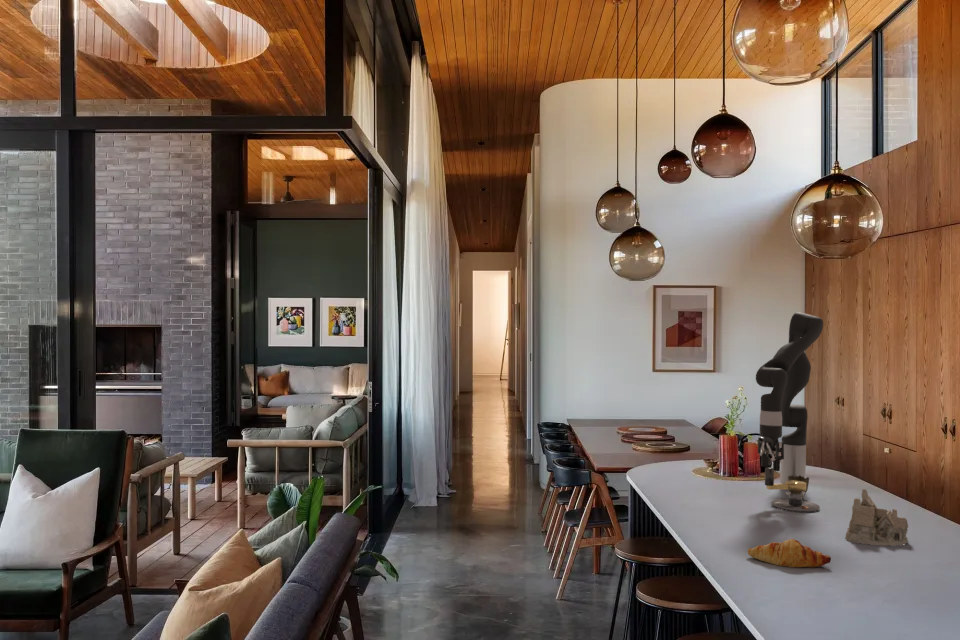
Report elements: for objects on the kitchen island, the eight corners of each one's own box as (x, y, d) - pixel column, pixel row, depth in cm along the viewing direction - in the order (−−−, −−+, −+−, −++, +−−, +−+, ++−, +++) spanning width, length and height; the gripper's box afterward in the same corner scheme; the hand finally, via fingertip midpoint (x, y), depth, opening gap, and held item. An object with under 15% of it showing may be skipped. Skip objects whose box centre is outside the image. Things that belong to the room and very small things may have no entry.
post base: (763, 502, 280) (763, 485, 280) (804, 501, 282) (804, 485, 282) (785, 512, 264) (786, 495, 264) (828, 512, 266) (829, 495, 266)
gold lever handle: (799, 487, 277) (799, 466, 277) (810, 491, 270) (810, 469, 270) (760, 487, 275) (760, 466, 275) (770, 491, 268) (770, 470, 268)
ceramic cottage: (837, 538, 232) (842, 489, 232) (860, 531, 243) (865, 485, 243) (891, 554, 221) (896, 502, 220) (913, 546, 231) (918, 497, 231)
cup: (813, 499, 286) (813, 478, 286) (798, 500, 283) (798, 479, 283) (798, 495, 293) (798, 474, 293) (783, 496, 290) (783, 475, 290)
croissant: (747, 573, 209) (746, 551, 206) (747, 547, 217) (747, 526, 214) (831, 582, 202) (832, 559, 198) (829, 555, 210) (829, 533, 207)
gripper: (791, 426, 265) (790, 472, 265) (770, 421, 280) (770, 465, 279) (770, 425, 264) (770, 472, 264) (751, 421, 279) (750, 465, 278)
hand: (770, 468), depth 272 cm, fingers open, 8 cm apart
